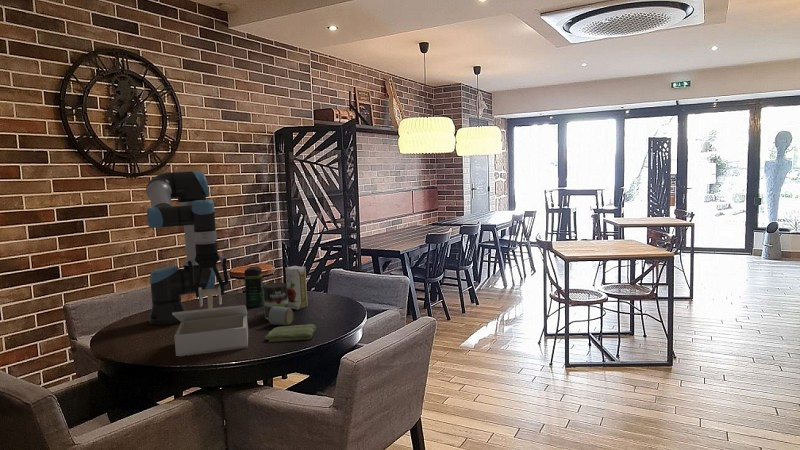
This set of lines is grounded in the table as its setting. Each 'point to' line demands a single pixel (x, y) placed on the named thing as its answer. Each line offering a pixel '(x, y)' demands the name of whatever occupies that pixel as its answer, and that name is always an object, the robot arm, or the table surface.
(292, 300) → the juice carton
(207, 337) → the box
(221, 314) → the lid
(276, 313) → the ceramic mug
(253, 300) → the coffee jar
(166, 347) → the table surface
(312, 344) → the table surface
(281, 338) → the washcloth
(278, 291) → the coffee can
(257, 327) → the table surface
